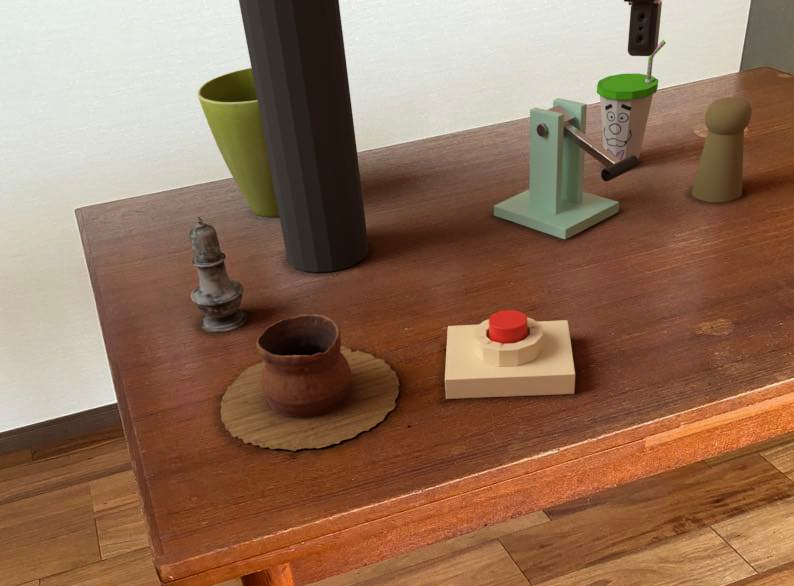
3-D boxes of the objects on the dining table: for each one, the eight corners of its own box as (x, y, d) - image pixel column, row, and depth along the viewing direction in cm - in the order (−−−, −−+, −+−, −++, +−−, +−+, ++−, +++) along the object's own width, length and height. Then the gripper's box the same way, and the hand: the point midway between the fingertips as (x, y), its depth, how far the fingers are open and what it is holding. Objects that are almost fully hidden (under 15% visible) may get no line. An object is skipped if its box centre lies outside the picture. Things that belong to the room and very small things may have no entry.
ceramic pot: (383, 454, 79) (374, 387, 74) (195, 450, 82) (175, 386, 77) (412, 348, 91) (406, 285, 87) (248, 348, 95) (234, 288, 90)
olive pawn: (733, 205, 109) (748, 110, 102) (684, 198, 112) (696, 106, 104) (748, 186, 112) (764, 94, 105) (701, 180, 115) (713, 90, 108)
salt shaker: (251, 328, 98) (227, 223, 90) (198, 337, 98) (169, 232, 90) (248, 304, 102) (225, 201, 94) (198, 312, 102) (170, 210, 94)
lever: (634, 173, 103) (642, 155, 101) (606, 187, 101) (613, 169, 99) (560, 120, 107) (566, 101, 105) (532, 132, 105) (537, 113, 103)
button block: (566, 339, 90) (568, 303, 87) (574, 394, 83) (576, 356, 80) (448, 344, 91) (446, 309, 89) (446, 399, 84) (443, 362, 81)
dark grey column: (316, 232, 115) (273, -38, 95) (383, 242, 111) (353, -38, 91) (271, 266, 109) (214, -14, 89) (340, 278, 105) (297, -14, 85)
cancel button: (526, 325, 86) (526, 308, 84) (528, 344, 83) (528, 327, 82) (489, 327, 86) (488, 310, 85) (489, 346, 83) (488, 329, 82)
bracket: (618, 212, 111) (627, 103, 102) (565, 240, 106) (569, 128, 98) (546, 190, 118) (548, 86, 109) (493, 215, 114) (491, 110, 105)
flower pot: (292, 236, 115) (268, 105, 104) (203, 222, 122) (173, 98, 111) (351, 191, 124) (335, 67, 113) (266, 181, 131) (244, 62, 120)
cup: (582, 169, 122) (588, 49, 112) (607, 149, 126) (614, 32, 116) (636, 176, 118) (647, 53, 108) (659, 156, 123) (672, 35, 113)
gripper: (702, -210, 58) (671, 78, 69) (734, -228, 66) (702, 32, 78) (588, -199, 60) (577, 76, 72) (633, -218, 69) (617, 31, 81)
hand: (642, 53), depth 75 cm, fingers closed
